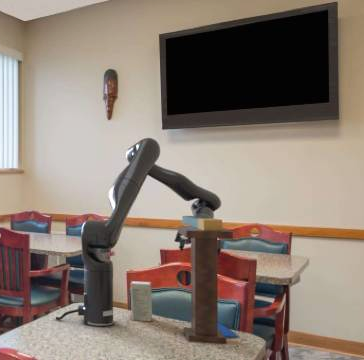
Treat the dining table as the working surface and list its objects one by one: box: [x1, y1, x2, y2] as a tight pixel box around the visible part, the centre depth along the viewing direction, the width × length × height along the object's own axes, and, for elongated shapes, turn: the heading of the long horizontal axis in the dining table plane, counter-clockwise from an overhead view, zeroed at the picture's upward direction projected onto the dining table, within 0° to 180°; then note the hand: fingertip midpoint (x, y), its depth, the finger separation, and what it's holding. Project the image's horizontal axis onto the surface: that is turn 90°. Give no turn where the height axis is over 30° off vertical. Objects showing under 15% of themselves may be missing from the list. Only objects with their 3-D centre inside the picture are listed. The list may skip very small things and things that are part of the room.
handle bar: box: [181, 215, 223, 231], centre depth 150 cm, size 5×22×3 cm, turn 175°
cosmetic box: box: [130, 280, 153, 322], centre depth 163 cm, size 6×4×12 cm
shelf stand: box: [177, 225, 234, 344], centre depth 144 cm, size 12×14×32 cm
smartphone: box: [218, 321, 238, 339], centre depth 152 cm, size 7×1×15 cm
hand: (195, 253), depth 160 cm, fingers open, 8 cm apart
